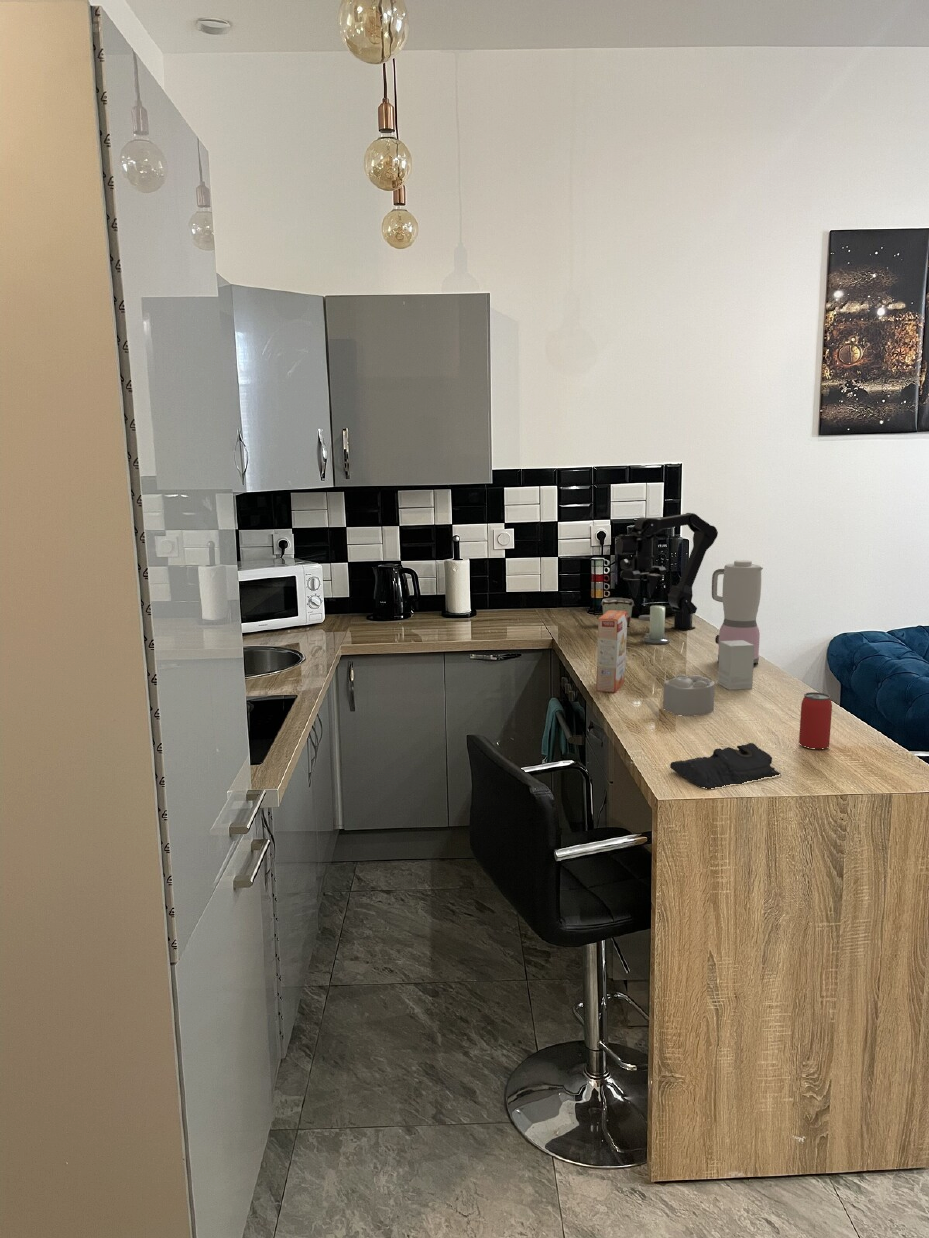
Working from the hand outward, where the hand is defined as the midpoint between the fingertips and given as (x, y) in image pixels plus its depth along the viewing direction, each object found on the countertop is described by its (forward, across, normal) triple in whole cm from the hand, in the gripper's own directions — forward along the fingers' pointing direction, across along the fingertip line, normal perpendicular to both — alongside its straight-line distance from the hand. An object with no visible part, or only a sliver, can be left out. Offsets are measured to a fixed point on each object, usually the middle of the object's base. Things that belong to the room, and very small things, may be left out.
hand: (642, 596), depth 342 cm
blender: (+13, +15, +50) cm, 53 cm away
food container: (+13, -2, -14) cm, 19 cm away
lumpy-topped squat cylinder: (+13, +67, +73) cm, 100 cm away
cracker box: (+13, +66, +45) cm, 81 cm away
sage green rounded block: (+12, +9, +14) cm, 21 cm away
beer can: (+13, +70, +110) cm, 131 cm away
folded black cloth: (+14, +100, +107) cm, 147 cm away
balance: (+13, +5, +9) cm, 17 cm away
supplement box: (+13, +39, +67) cm, 79 cm away
